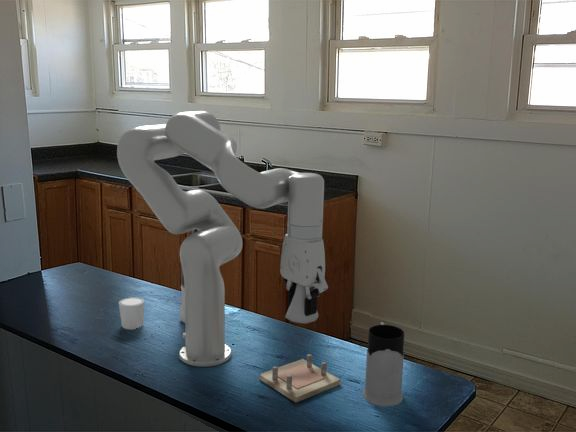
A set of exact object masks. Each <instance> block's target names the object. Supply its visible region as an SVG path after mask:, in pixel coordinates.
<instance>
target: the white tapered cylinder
mask: <svg viewBox="0 0 576 432" xmlns="http://www.w3.org/2000/svg"><path fill="white" fill-rule="evenodd" d="M145 302H146V301H145V299H144V298H142V297H136V296H134V297H133V296H132V297H126V298H123V299H120V300H119V301H118V306H119V315H120V321H121V327H122V329H125V330H136V328H138V329H140V328H142V327H143V326H144V317H145ZM141 326H142V327H141ZM139 327H140V328H139Z"/></svg>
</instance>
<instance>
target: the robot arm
mask: <svg viewBox="0 0 576 432" xmlns="http://www.w3.org/2000/svg"><path fill="white" fill-rule="evenodd" d="M237 147H238V146H237V141H236V140H235V139H234V137H232V136H230V135H227V134H226V133H224V132H222V131H221V126H220V122H219V120H218V119H217V117H216V116H214V115H213V114H212V113H210V112H208V111H205V110H195V111H193V110H192V111H183V112H177V113H175V114H174V115H173V114H172V116H171V117H169V119H168V120H167V121H166V123H160V124H149V125H148V124H147V125H140V126H136V127H133V128H129V129H128V130H126V131H125V132H123V134H122V135H121V136H120V137H119V140H118V143H117V148H116V149H117V150H116V157H117V161H118V165H119V168H120V170H121V171H122V173H123V175H124V176H125V178H126V179H127V180H128V182H129V183H130V184H131V185H132V186H133V187H134V189H136V191H137V192H138V193H139V194H140V196H142V198H143V200H144V201H145V202H146V204H147V205H148V207H149V208H150V210H151V211H152V212H153V214H154V215H155V216H156V218H157V219H158V220H159V222H160V223H161V224H162V226H163V227H164V228H165V229H166V231H168V232H169V233H170V234H172V235H181V234H182V235H183V234H185V233H189V232H191V231H192V230H194V229H197V230H198V231H197V232H195V233H193V234H191V233H190V235H188V236H187V237H185V239H183V241H182V243H181V244H180V247H179V259H180V260H181V261H180V266H181V265H182V269H183V275H184V289H185V323H184V324H185V325H184V326H185V327H184V329H185V332H183V333H182V334H181V337H182V338H183V339H184V340H185V341H184V342H185V345H184V346H183V347H181V349H180V350H179V355H178V356H179V359H180V361H182V362H183V363H184V364H187V365H190V366H194V367H200V368H201V367H204V368H205V367H214V366H218V365H221V364H223V363H225V362H227V361H228V360H229V359H230V358H231V357H232V349H231V347H230V345H227V344H226V329H225V327H226V323H225V322H226V321H225V320H226V319H225V318H226V313H225V312H226V310H225V309H226V308H225V306H226V305H225V303H226V302H225V297H226V294H225V282H224V278H223V276H222V274H221V269H220V266H223V265H224V264H226V263H228V262H230V261H232V260H234V259H235V258H236V257H238V256H239V254H240V253H241V252H242V250H243V238H242V235H241V233H240V230H239V229H238V227H237V226H236V225H235V223H234V222H233V220H232V219H231V218H230V216H229V215H228V214H227V213H226V210H224V209H223V208H222V206H221V205H220V203H219V201H217V199H216V198H215V197H214V196H213V195H211V194H210V193H209V192H207V191H205V190H203V189H191V190H186V191H185V190H183V189H182V188H181V187H180V186H179V184H178V183H177V182H176V180H175V179H174V177H173V176H172V175H171V174H170V173H169V172H168V171H167V170H166V169H164V168H163V167H161V166H159V165H158V164H157V163H156V162H155V161H159V160H166V159H171V158H175V157H178V156H182V155H185V154H186V155H188V156H190V157H191V158H192V159H194V160H195V161H197V162H199V163H200V164H201V165H203V166H205V167H207V168H208V169H210V170H211V171H212V172H213V173H214V176H215V178H216V179H217V182H219V184H220V186H221V187H222V188H223V189H224V190H225V191H226V192H228V193H229V194H230V195H232V196H233V197H235V198H236V199H238V200H239V201H241V202H243V203H244V204H246V205H248V206H250V207H252V208H255V209H262V210H263V209H267V208H270V207H273V206H275V205H278V204H284V203H286V202H287V221H286V225H287V231H286V232H287V233H286V234H284V238H283V242H282V246H281V247H282V248H281V255H280V256H281V257H280V269H279V273H280V275H281V277H282V278H283V280H284V283H285V285H286V287H285V289H286V290H287V291H288V292H287V308H288V309H289V306H290V304H291V302H292V299H293V296H294V294H295V290H296V286H297V284H299V285H302V286H304V287H306V294H307V298H305V304H304V314H305V315H306V316H309V315H312V314H315V313H316V312H318V297H320V295H322V294H323V292H325V291H327V290H328V289H329V286H328V283H327V281H326V278H325V277H326V254H325V246H324V245H325V244H324V239H323V226H324V224H323V222H324V197H325V179H324V178H323V176H322V175H320V174H318V173H313V172H298V171H294V170H291V169H288V168H284V167H283V168H282V167H279V168H273V169H268V170H264V171H261V172H259V171H257V170H256V169H254V168H252V167H250V166H249V165H247V164H246V163H244V162H243V161H241V160H240V159H239V158H238V157H237V156H236V154H237V149H238V148H237ZM312 287H313V289H312Z"/></svg>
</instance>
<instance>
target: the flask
mask: <svg viewBox="0 0 576 432" xmlns="http://www.w3.org/2000/svg"><path fill="white" fill-rule="evenodd" d="M305 298H307V294H306V287H304V286H302V285H299V284H297V286H296V290H295V294H294V296H293V299H292V302H291V304H290V306H289V308H288V309H287V311H286V314H285V316H284V318H285V319H287V320H289V321H290V322H293V323H298V324H309V323H312V322H316V321H317V320H318V318H319V313H318V311H317V312H316V313H315V314H312V315H309V316H306V315H305V314H304V304H305Z"/></svg>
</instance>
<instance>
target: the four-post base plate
mask: <svg viewBox="0 0 576 432" xmlns="http://www.w3.org/2000/svg"><path fill="white" fill-rule="evenodd" d="M327 365H328V364H327V362H325V361H324V362H321V367H318V366H316V365H315V364H314V363H313V355H312V354H310V353H309V354H307V355H306V359H304V358H300V359H299V360H296V361H293V362H290V363H286V364H284V365H281V366H279V367H278V366H273V367H272V368H271V369H270V370H268V371H265V372H262V373H260V374H258V375H259V376H258V377H259V378H258V379H259V380H260V381H262V382H263V383H265V384H266V385H268V386H270V387H271V388H272V389H274V390H276V391H277V392H279V393H281V394H282V395H283V396H285V397H286V398H288V399H290V400H291V401H293V403H294V402H295V403H298V402H301V401H303V400H306V399H308V398H310V397H313V396H315V395H318V394H320V393H323V392H325V391H327V390H329V389H333V388H336V387H338V386H340V385H341V379H340V378H338V377H337V376H335V375H333V374H331V373H330V372H328V371H327V370H328V369H327V367H328V366H327Z"/></svg>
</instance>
